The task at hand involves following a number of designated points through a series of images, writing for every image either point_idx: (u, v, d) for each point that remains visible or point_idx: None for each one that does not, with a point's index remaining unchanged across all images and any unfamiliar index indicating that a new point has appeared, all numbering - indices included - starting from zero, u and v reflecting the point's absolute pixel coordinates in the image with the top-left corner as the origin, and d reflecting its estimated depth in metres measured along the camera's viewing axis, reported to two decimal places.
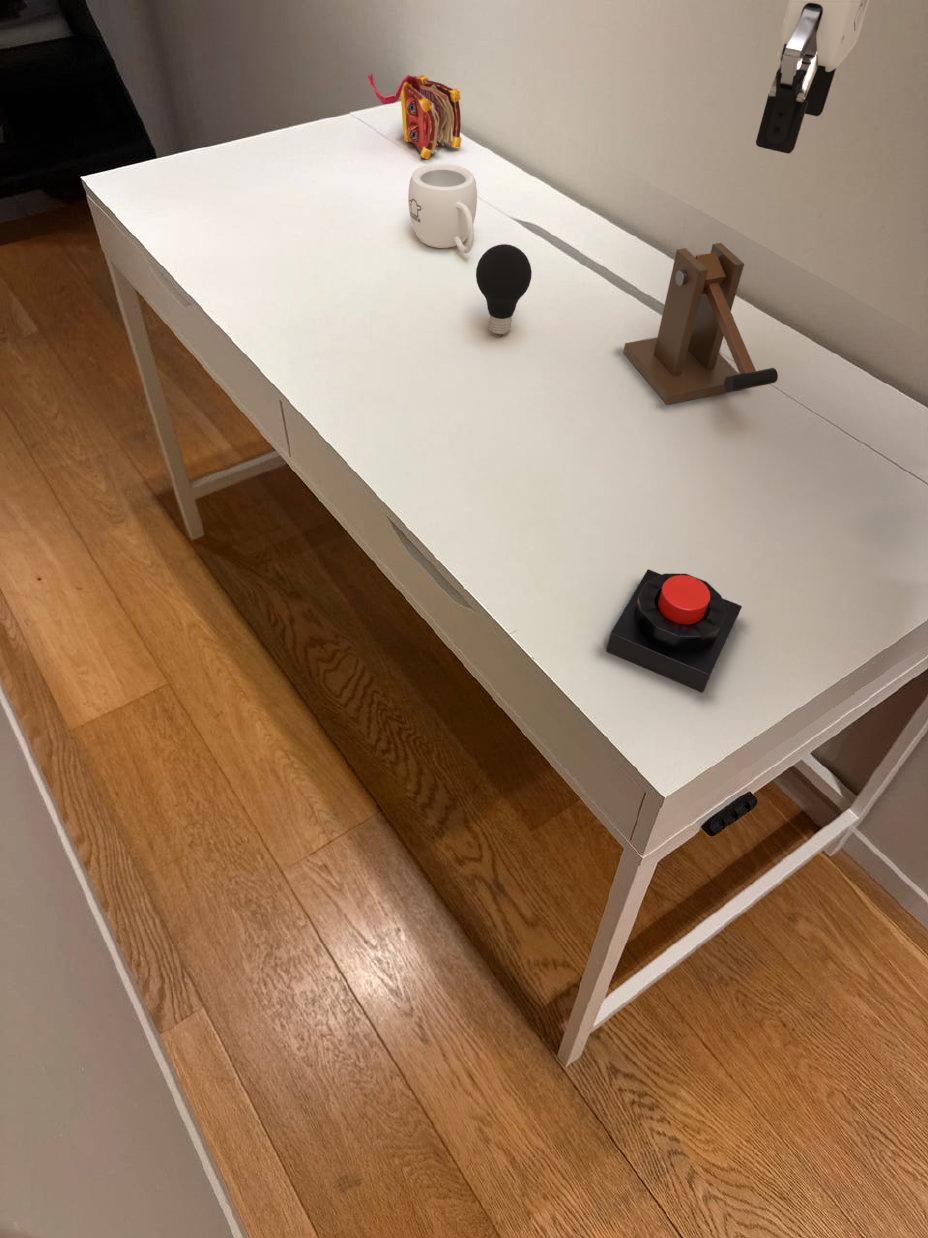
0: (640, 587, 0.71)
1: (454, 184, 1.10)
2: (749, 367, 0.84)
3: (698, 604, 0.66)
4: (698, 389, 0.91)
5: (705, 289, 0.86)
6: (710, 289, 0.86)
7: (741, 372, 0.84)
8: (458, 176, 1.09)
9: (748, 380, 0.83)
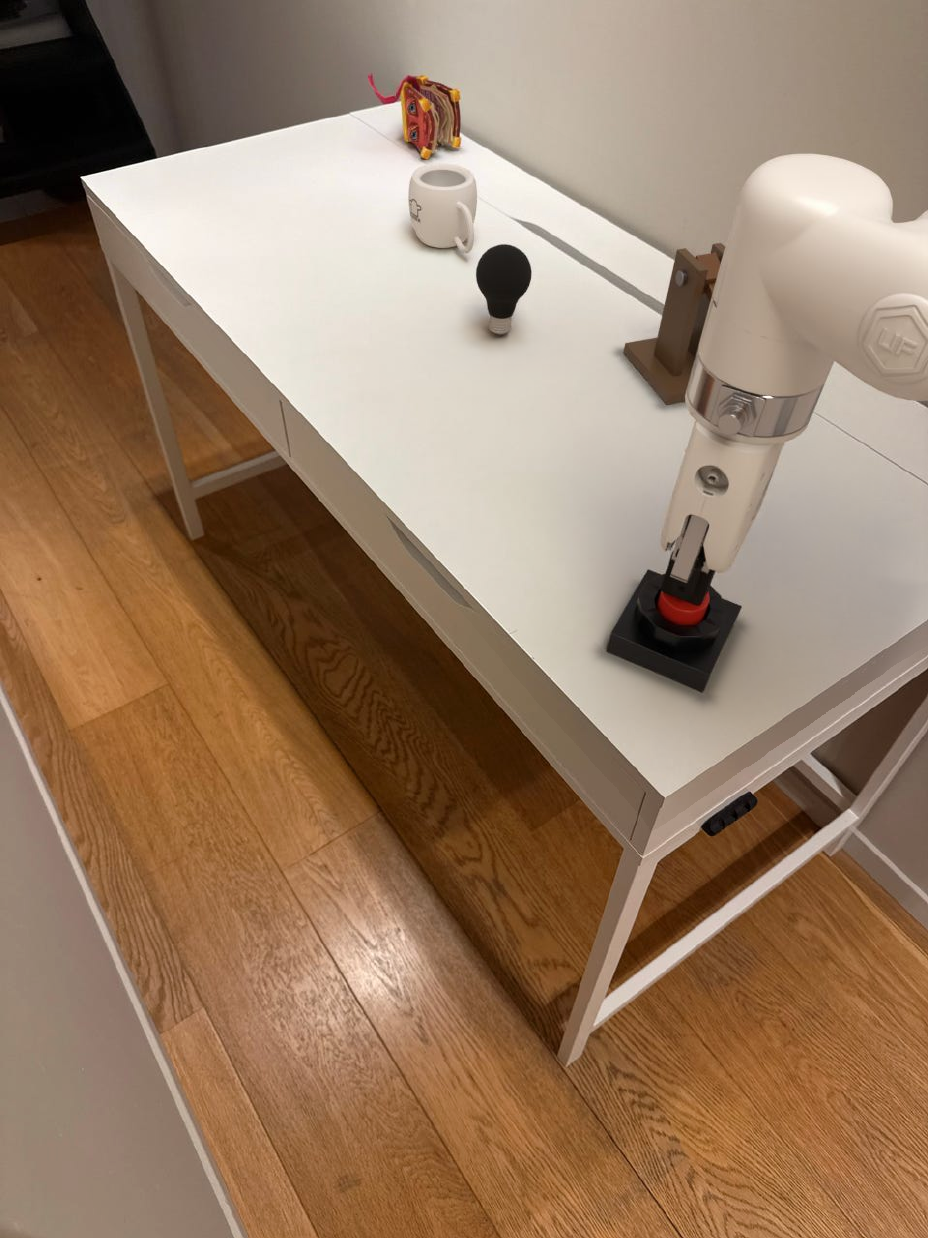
0: (640, 587, 0.71)
1: (454, 184, 1.10)
2: None
3: (698, 606, 0.66)
4: None
5: (705, 289, 0.86)
6: (710, 289, 0.86)
7: None
8: (458, 176, 1.09)
9: None
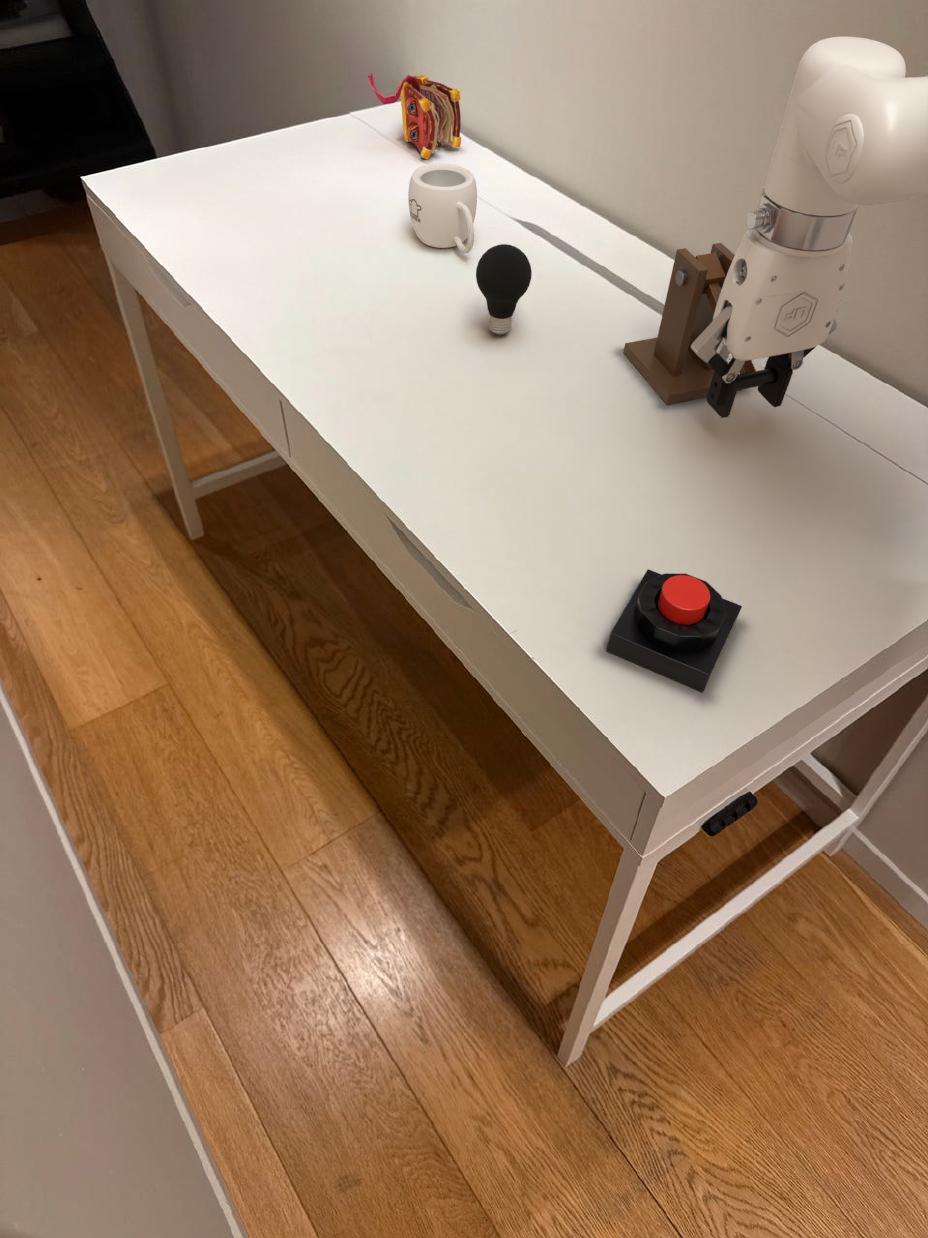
0: (640, 587, 0.71)
1: (454, 184, 1.10)
2: (749, 367, 0.84)
3: (698, 604, 0.66)
4: (698, 389, 0.91)
5: (705, 289, 0.86)
6: (710, 289, 0.86)
7: (741, 372, 0.84)
8: (458, 176, 1.09)
9: (748, 380, 0.83)
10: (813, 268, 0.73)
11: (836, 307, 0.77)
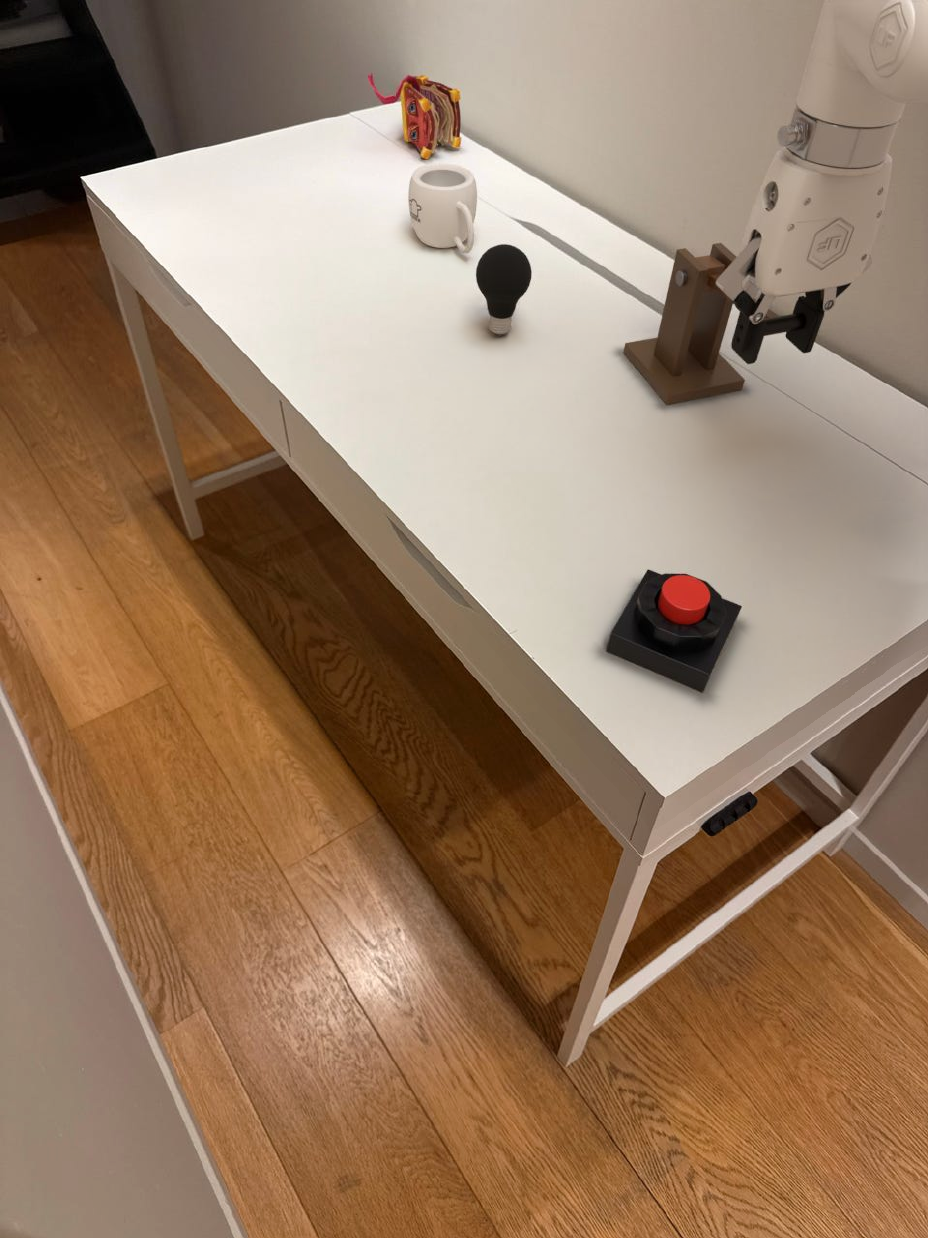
0: (640, 587, 0.71)
1: (454, 184, 1.10)
2: (771, 314, 0.79)
3: (698, 604, 0.66)
4: (698, 389, 0.91)
5: (708, 283, 0.86)
6: (713, 278, 0.85)
7: None
8: (458, 176, 1.09)
9: (773, 321, 0.78)
10: (850, 191, 0.67)
11: (873, 238, 0.71)
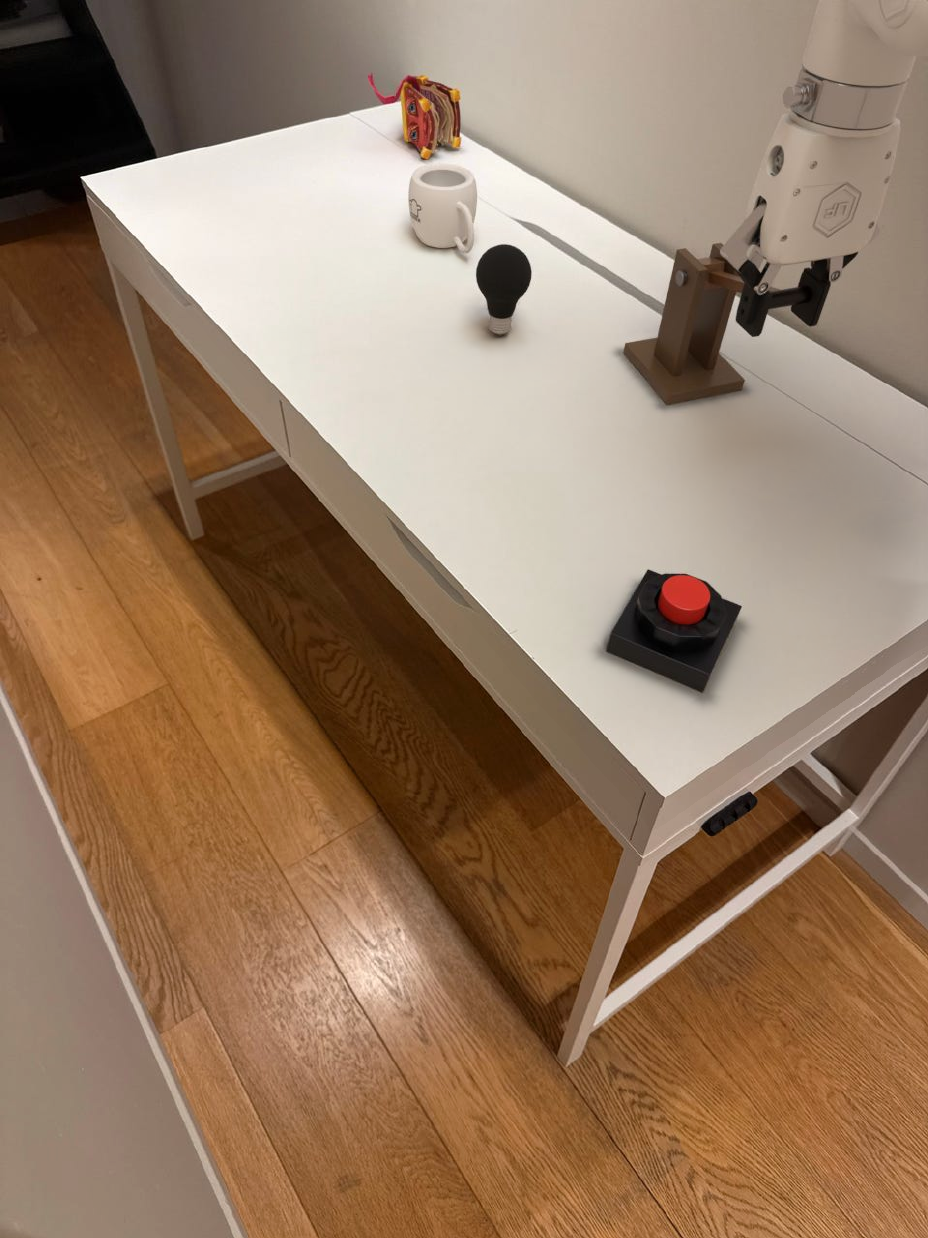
0: (640, 587, 0.71)
1: (454, 184, 1.10)
2: (775, 290, 0.78)
3: (698, 604, 0.66)
4: (698, 389, 0.91)
5: (709, 280, 0.85)
6: (713, 273, 0.85)
7: None
8: (458, 176, 1.09)
9: (777, 292, 0.76)
10: (858, 154, 0.66)
11: (880, 204, 0.70)
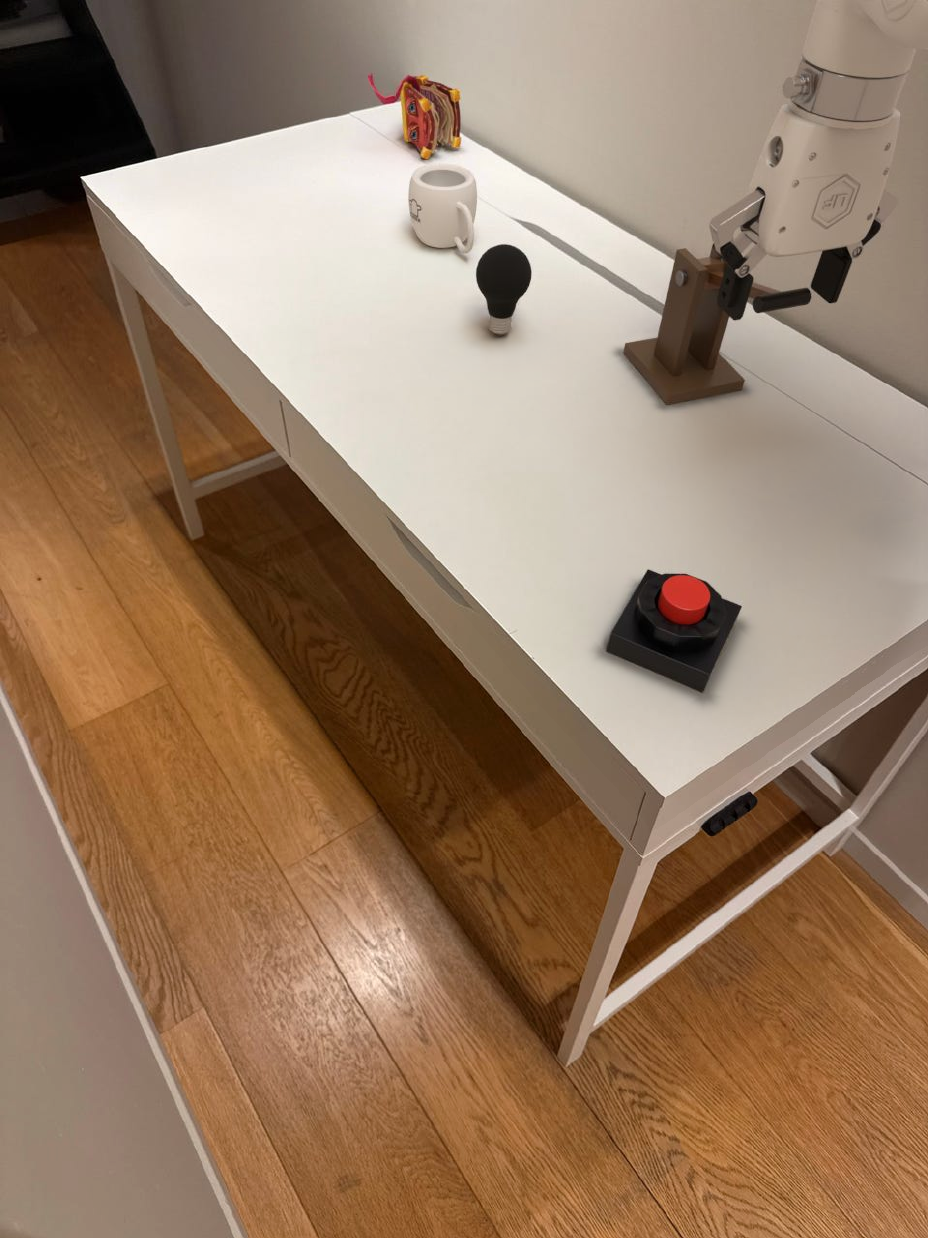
0: (640, 587, 0.71)
1: (454, 184, 1.10)
2: (775, 291, 0.78)
3: (698, 604, 0.66)
4: (698, 389, 0.91)
5: (709, 280, 0.85)
6: (713, 274, 0.85)
7: None
8: (458, 176, 1.09)
9: (777, 295, 0.76)
10: (857, 145, 0.66)
11: (879, 196, 0.70)
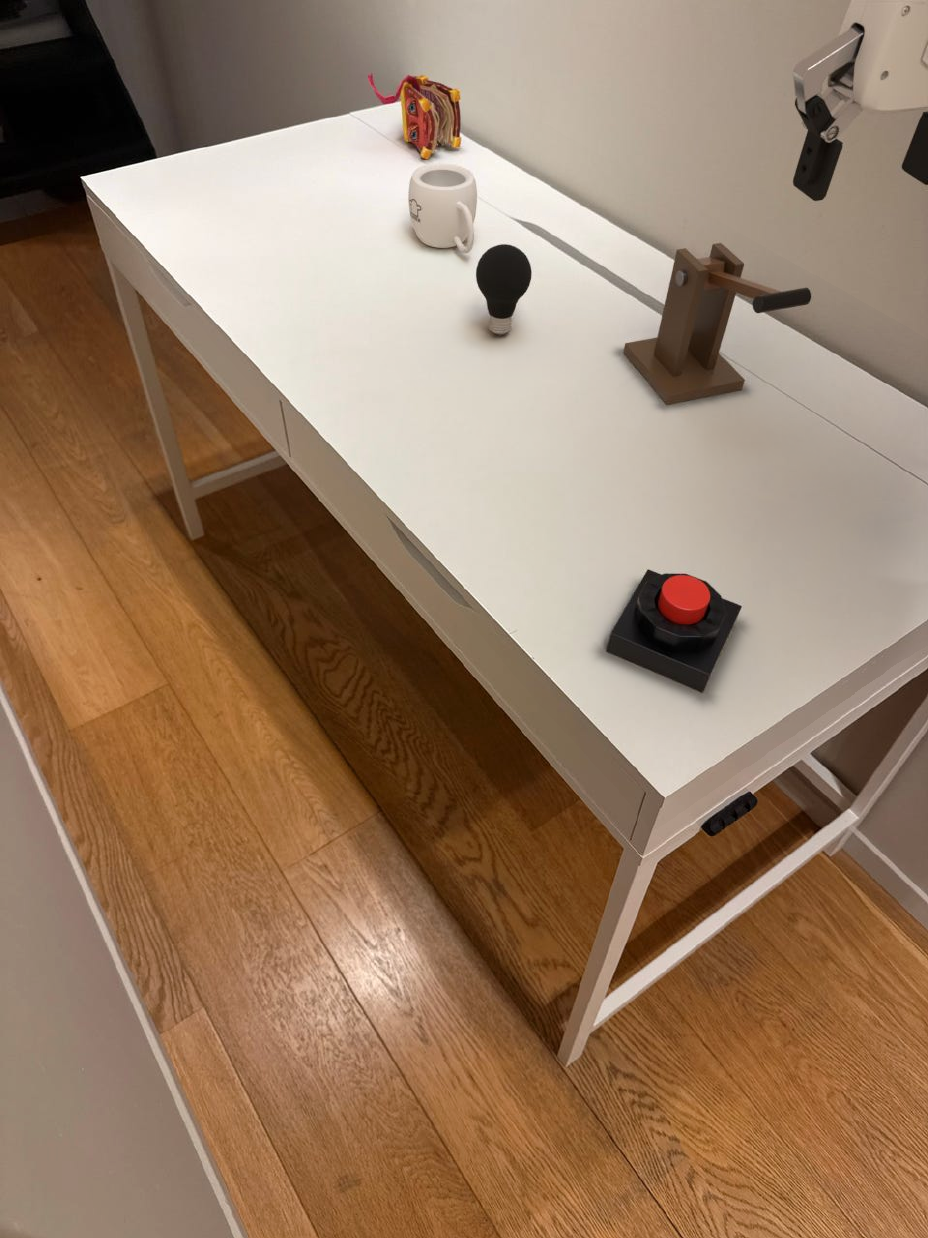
0: (640, 587, 0.71)
1: (454, 184, 1.10)
2: (775, 291, 0.78)
3: (698, 604, 0.66)
4: (698, 389, 0.91)
5: (709, 280, 0.85)
6: (713, 274, 0.85)
7: None
8: (458, 176, 1.09)
9: (777, 295, 0.76)
10: None
11: None
